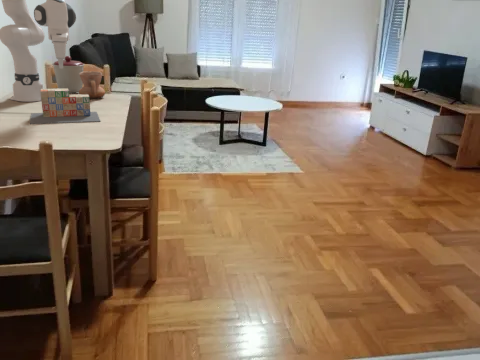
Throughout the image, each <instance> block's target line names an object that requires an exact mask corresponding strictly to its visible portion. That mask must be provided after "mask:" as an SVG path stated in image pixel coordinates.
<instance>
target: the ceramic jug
mask: <svg viewBox="0 0 480 360" xmlns="http://www.w3.org/2000/svg"><path fill="white" fill-rule="evenodd" d="M79 74H80V78H81V80H82V82H83V86H82V88H81V89H80V90H79V92H78V95H80V94H82V95H85V94H88V95H89V99H90V100H96V99H100V98H103V97H104V96H105V94H106V90H105V89H104V88H103V87H101V86H100V84H101V82H102V77H103V73H102V72H101V71H90V70H89V71H83V72H81V73H79Z"/></svg>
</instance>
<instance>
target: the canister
mask: <svg viewBox="0 0 480 360" xmlns="http://www.w3.org/2000/svg"><path fill="white" fill-rule="evenodd" d="M51 65H52V66H53V71H54V76H55V80H56V85H57V89H65V88H68V90H69V94H77V93H78V94H79V90H80V89H81V88H83V87H84V84H83V82H82V80H81V78H80V74H79V73H81V72H84V66H85V63H83V62H81V61H79V60H72V57H71V56H70V55H65V59H63V69H60V68H59V63H58V60H57V61H54V62H53V63H52V64H51Z"/></svg>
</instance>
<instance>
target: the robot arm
mask: <svg viewBox="0 0 480 360" xmlns="http://www.w3.org/2000/svg"><path fill="white" fill-rule="evenodd" d="M1 3H2V4H1V5H2V7H3V12H4V13H5V15H7V16H8V17H9V18H10V19H11V20H12V21H13V22H14V24H7V25H5V26H2V27H1V28H0V42H1V43H2V44H3V45H4V46H6V48H7V49H8V51H9V52H10V55H11V56H12V59H13V65H14V72H15V73H14V81H15V82H13V83H12V93H13V96H11V97H9V98H10V101H17V102H26V103H27V102H29V103H31V102H40V101H41V89H44V86H43V85H44V84H43V83H42V82H41V81H40V75H39V73H38V72H39V71H38V63H37V57H36V56H35V55H33V54H32V53H31V52H30V49H29V47H31V46H33V47H34V46H38V45H40V44H42V43H43V42H44V40H45V36H46V35H45V32H44V30H43V28H42V27H47V35H48V40H49V41H51V44H53V47H54V48H53V49H54V53H55V58H56V60H57V61H58V63H59V68H60V69H63V61H64V60H65V57H66V49H67V42H68V41H70V31H69V29H70V28H72V27H73V26H74V25H75V23H76V21H77V16H76V12H75V10H74V9H73V7H72V6H71V5H69V4H68V3H67V2H66V0H46V1H45V2H44V3H40V4H38V5H36V6H35V8H34V9H33V17H34V19H33V17H32V15H31V13H30V11H29V9H28V5H27V1H26V0H1ZM34 20H35V21H34ZM40 26H42V27H40Z"/></svg>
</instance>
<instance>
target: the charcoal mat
mask: <svg viewBox="0 0 480 360" xmlns="http://www.w3.org/2000/svg"><path fill="white" fill-rule="evenodd" d="M100 122H101V119H100V117H99V115H98V112H97V111H90V115H89V116H60V117H43V112H31V113H30V120H29V124H30V125H40V124H41V125H45V124H73V123H76V124H77V123H100Z"/></svg>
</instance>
